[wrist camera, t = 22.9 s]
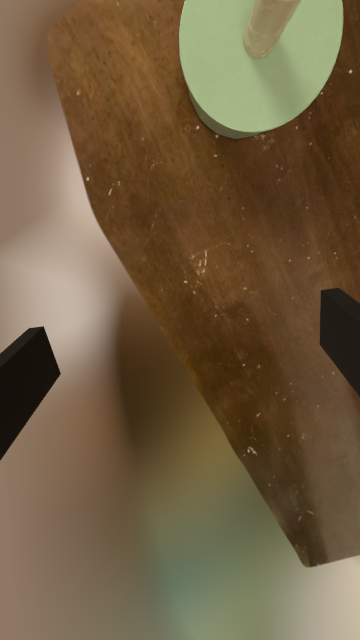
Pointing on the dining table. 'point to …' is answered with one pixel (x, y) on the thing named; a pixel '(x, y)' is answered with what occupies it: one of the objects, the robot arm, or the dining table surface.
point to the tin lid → (258, 57)
